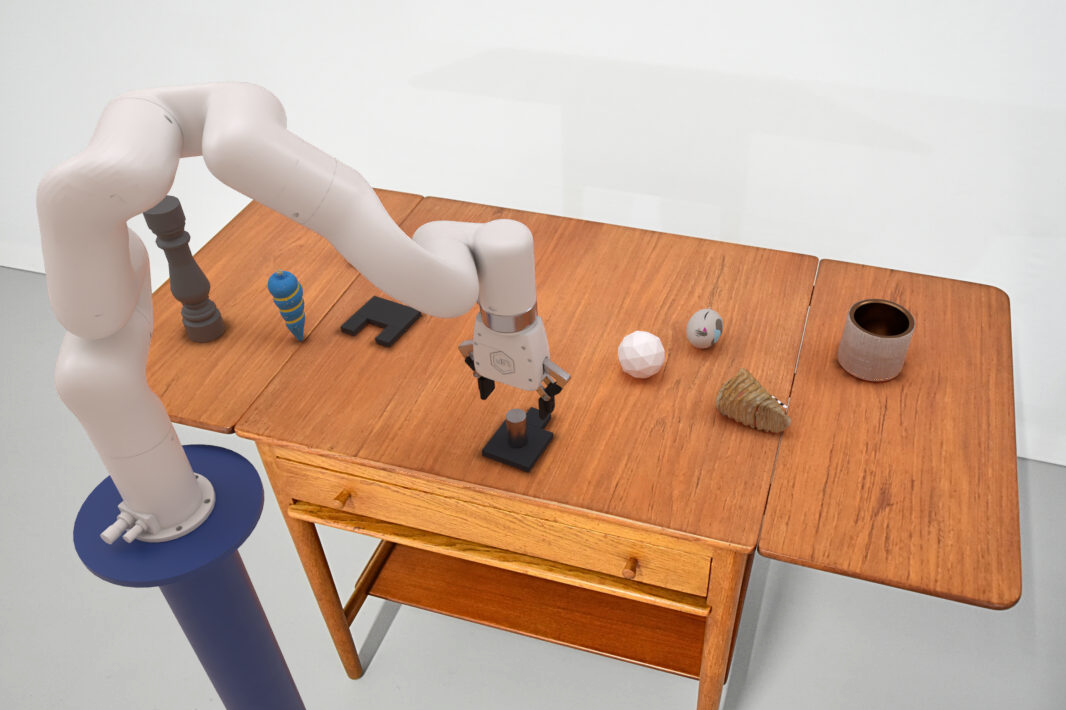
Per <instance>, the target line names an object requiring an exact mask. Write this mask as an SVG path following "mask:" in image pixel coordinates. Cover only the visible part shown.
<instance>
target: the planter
mask: <svg viewBox="0 0 1066 710" xmlns="http://www.w3.org/2000/svg"><path fill="white" fill-rule="evenodd" d="M916 323H917V322H916V319H915V316H914V315H913V314H912V313H911V312H910V311H909V310H908V309H907V308H906V307H905V306H903V305H901V304H900V303H897V302H895V301H891V300H888V299H885V298H884V299H883V298H865V299H861V300H858V301H857V302H855V303H853V304H852V305H851V306H850V308H849V309H848V311H847V315H846V320H845V324H844V328H843V331H842V335H841V338H840V342H839V345H838V348H837V361H838V363H839V365H840V366H841V367H842V369H843V370H844V371H845V372H846V373H848V374H849V375H851V376H853V377H855V378H856V379H860V380H863V381H867V382H886V381H889V380H893V379H894V378H896V377H898V376H899V374H900V373H901V372H902V370H903V368H904V365H905V361H906V359H907V355H908V352H909V348H910V344H911V342H912V338H913V335H914V332H915V328H916ZM838 358H839V359H838ZM840 362H841V363H840ZM848 370H849V371H848ZM851 372H852V373H851ZM899 372H900V373H899ZM853 373H854V374H853ZM898 373H899V374H898ZM855 374H856V375H855ZM857 375H858V376H857ZM895 375H896V376H895ZM893 376H894V377H893ZM863 377H864V378H863ZM890 377H892V378H890ZM886 378H888V379H886ZM874 379H875V380H874ZM876 379H877V380H876ZM878 379H879V380H878ZM880 379H883V380H880Z"/></svg>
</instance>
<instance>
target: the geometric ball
mask: <svg viewBox="0 0 1066 710" xmlns="http://www.w3.org/2000/svg"><path fill="white" fill-rule="evenodd" d="M617 356H618V362H619V365H620V367H621V369H622V371H623V372H624V373H626V374H628V375H629V376H631V377H633V378H635V379H648V378H650V377H652V376H654V375H656V374H658V373H659V371H660V370H661V368H662V367H663V365H664V364H665V362H666V351H665V348H664V345H663V343H662V341H661V338H660V337H658V336H657V335H655V334H653V333H651V332H649V331H645V330H634V331H633V332H631V333H629V334H627V335H625V336H624V337H623V339H622V340H621V342H620V344H619V346H618V347H617Z"/></svg>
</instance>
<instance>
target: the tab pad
mask: <svg viewBox="0 0 1066 710" xmlns="http://www.w3.org/2000/svg"><path fill="white" fill-rule="evenodd" d="M525 411H526V410H523V409H521V408H511V409H509V410H508V411H507V412H506V413H505V419H504V421H503V422H502V424H501V425H500V426H499V427H498V429H497V430H496V431H495V433H494V434H493V435H492V436H491V438H490V439H489V440H488V441H487V443H486V444H485V446H483V448H481V456H482V457H484V458H487V459H489V460H493V461H496V462H498V463H500V464H503V465H507V466H510V467H512V468H514V469H518V470H521V471H523V472H526V473H530V472H531V470H532V469H533V467H534V466H535V465H536V463H537V462H538V460H539V459H540V458H541V456H542V455H543V453H544V452H545V451H546V449H547V448H548V446H549V445H550V444H551V442H552V441H553V440H554V432H552V431H550V430H546V429H545V428H546V427H547V425H548V424H549V423H550V422H551V420H552V413H551V414H550V413H549V414H548V416H547V417H546V418H545V420H541V419H540V418H539V408H536V407H533V406H530V407H529V409H528V410H527V412H525Z"/></svg>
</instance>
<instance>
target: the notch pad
mask: <svg viewBox="0 0 1066 710" xmlns="http://www.w3.org/2000/svg"><path fill="white" fill-rule="evenodd" d="M422 314H423V313H422V312H420V311H418V310H416V309H414V308H412V307H410V306H408V305H406V304H403V303H400V302H396V301H392V300H390V299H387V298H383V297H381V296H376V295H373V296H372V297H371V298H370V299H369V300H367V301H366V303H364V304H363V305H362V306H360V308H359V309H358V310H357V311H356V312H355V313H353V314H352V315H351V316H350V317H349V318H348V319H347V320H346V321H344V322H343V324H342V325H340V326H339V328H340V332H341V333H343V334H347V335H350V336H353V337H356V336H357V335H358V334H359V333H360V332H361V331H362V330H363V329H364V328H365V327H366V326H367V325H368V324H369V325H373V326H375V327H377V328H381V329H383V330H381V331H380V332H379V333H378V334H377V336H375V338H374V341H375V344H377V345H379V346H383V347H385V348H389V349H390V348H391V347H392V346H393V345H394V344H395V343H396V342H397V341H398V340H399V339H400V338H401V337H402V336H403V335H404V334H405V333H406V332H407V331H408V330H409V329H410V328H411V327H412V326H413V325H414V324H415V323H416V322H417V321H418V320H419V319H420V318H421V317H423V316H422Z"/></svg>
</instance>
